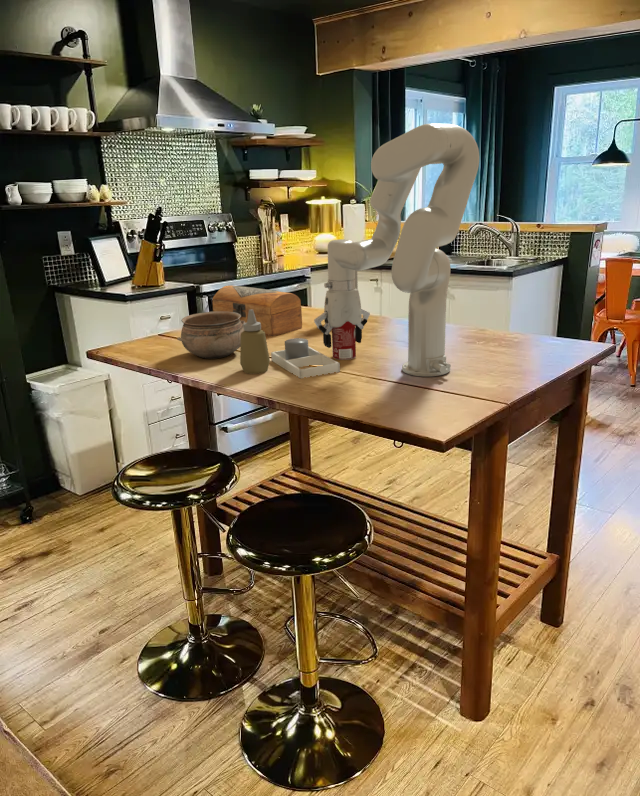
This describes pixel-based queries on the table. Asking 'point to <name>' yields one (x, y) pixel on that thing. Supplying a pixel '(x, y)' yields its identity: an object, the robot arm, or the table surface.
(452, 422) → the table surface
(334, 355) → the soda can
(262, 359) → the squeeze bottle
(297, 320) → the wooden box
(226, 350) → the cooking pot
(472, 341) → the table surface
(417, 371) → the robot arm
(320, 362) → the caddy
